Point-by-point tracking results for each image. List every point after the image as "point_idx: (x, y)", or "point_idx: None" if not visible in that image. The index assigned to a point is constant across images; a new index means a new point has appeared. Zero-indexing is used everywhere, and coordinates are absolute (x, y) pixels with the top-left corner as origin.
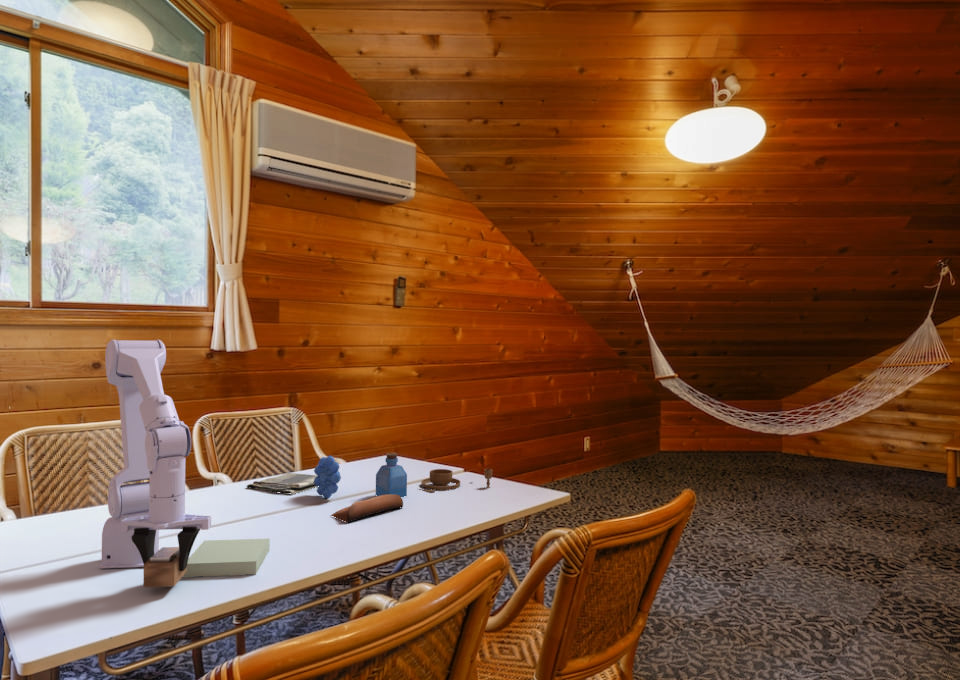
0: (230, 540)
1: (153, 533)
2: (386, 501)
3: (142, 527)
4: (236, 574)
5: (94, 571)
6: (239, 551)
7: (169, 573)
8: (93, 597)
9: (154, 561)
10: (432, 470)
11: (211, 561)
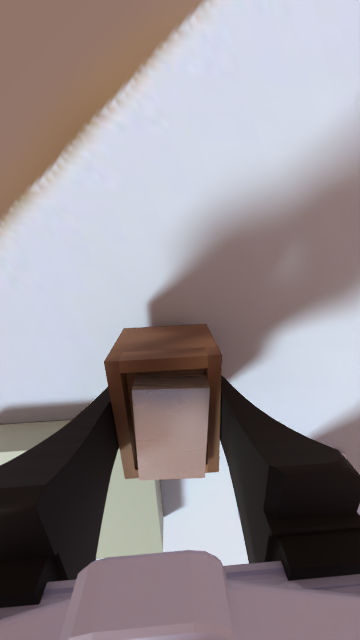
0: (101, 555)
1: (251, 539)
2: None
3: (335, 584)
4: (31, 423)
5: (350, 442)
6: None
7: (130, 343)
8: (317, 318)
9: (191, 379)
10: None
11: None
